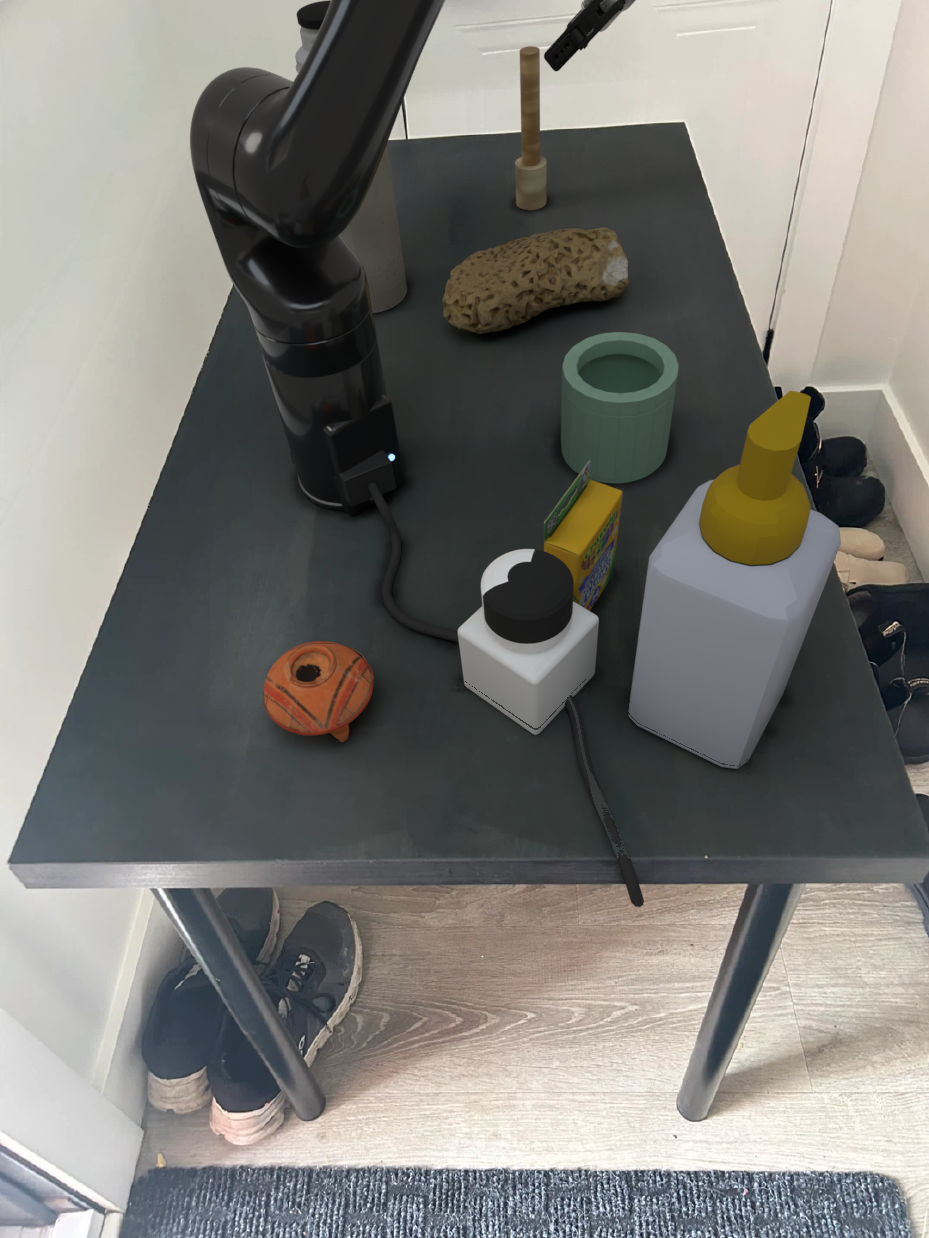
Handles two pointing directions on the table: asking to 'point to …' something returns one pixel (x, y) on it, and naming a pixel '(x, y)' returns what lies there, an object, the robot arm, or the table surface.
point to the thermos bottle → (367, 203)
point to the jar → (617, 405)
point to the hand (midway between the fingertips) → (562, 47)
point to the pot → (318, 689)
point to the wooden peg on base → (530, 136)
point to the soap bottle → (733, 597)
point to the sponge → (534, 278)
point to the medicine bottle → (528, 638)
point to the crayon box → (586, 535)
